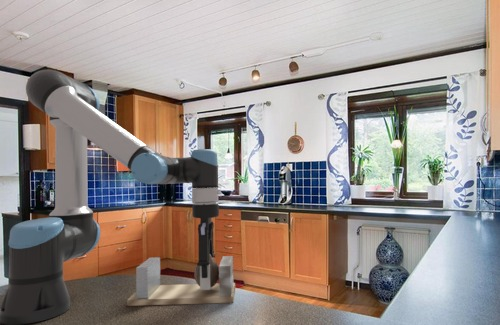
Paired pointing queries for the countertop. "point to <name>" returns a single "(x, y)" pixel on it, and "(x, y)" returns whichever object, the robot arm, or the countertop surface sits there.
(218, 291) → the vise
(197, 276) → the vase
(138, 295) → the block
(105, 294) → the countertop surface
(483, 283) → the countertop surface
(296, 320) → the countertop surface
